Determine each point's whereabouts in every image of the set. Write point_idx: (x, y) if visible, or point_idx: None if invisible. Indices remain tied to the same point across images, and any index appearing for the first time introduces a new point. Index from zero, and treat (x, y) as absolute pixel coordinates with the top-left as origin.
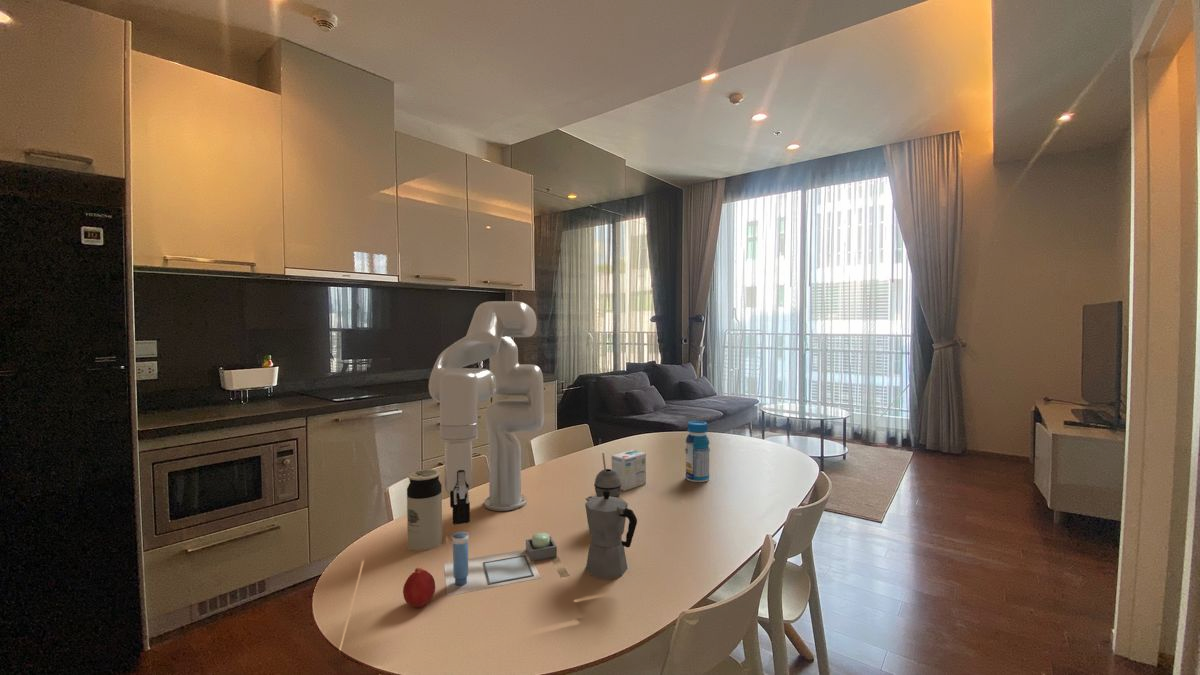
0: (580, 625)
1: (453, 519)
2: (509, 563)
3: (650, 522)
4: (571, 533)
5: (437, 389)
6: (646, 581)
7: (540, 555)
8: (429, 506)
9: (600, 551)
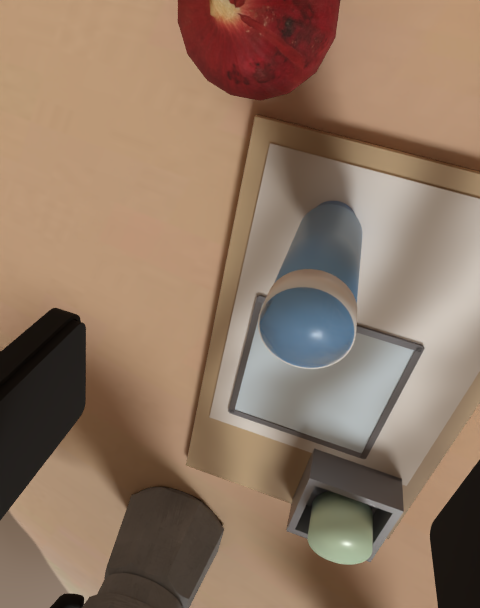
0: None
1: (29, 331)
2: (348, 403)
3: None
4: (417, 598)
5: None
6: (103, 531)
7: (303, 480)
8: None
9: (119, 559)
